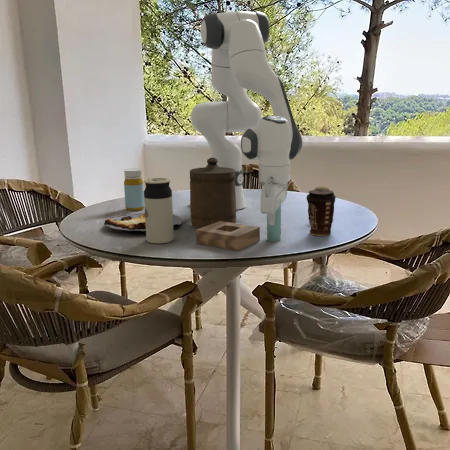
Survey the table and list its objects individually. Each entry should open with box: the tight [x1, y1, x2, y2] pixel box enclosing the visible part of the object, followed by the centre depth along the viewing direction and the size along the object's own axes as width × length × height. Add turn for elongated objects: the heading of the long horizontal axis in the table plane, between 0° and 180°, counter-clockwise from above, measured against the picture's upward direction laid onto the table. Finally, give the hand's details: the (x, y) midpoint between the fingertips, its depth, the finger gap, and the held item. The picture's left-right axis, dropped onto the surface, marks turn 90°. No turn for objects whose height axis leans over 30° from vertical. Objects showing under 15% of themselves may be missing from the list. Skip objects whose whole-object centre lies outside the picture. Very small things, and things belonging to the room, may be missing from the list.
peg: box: [266, 199, 282, 242], centre depth 141 cm, size 4×4×12 cm
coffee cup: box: [306, 189, 337, 237], centre depth 146 cm, size 9×8×13 cm
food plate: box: [103, 212, 183, 233], centre depth 159 cm, size 25×23×4 cm
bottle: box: [123, 168, 145, 212], centre depth 182 cm, size 7×7×15 cm
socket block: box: [195, 221, 261, 252], centre depth 140 cm, size 14×12×4 cm
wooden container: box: [189, 157, 237, 230], centre depth 157 cm, size 15×15×22 cm
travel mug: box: [143, 177, 175, 245], centre depth 141 cm, size 8×8×18 cm
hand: (273, 222), depth 141 cm, fingers closed on peg, 4 cm apart
